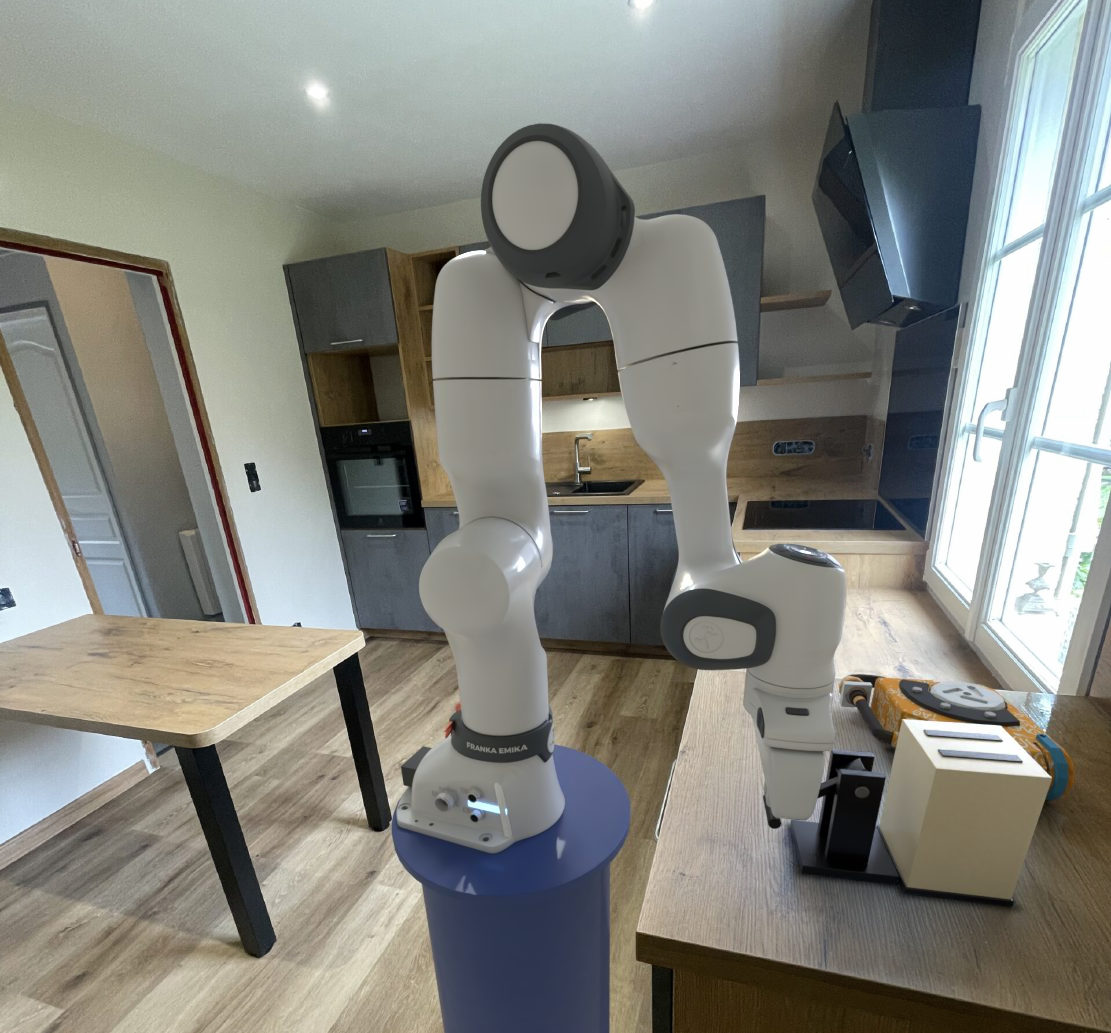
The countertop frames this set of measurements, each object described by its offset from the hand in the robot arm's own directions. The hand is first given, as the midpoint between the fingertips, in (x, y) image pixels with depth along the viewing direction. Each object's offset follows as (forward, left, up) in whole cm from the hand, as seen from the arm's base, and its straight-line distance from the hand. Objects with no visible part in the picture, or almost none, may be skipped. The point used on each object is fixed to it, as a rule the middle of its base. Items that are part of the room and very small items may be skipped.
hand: (772, 800), depth 68 cm
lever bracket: (+8, 0, -7) cm, 11 cm away
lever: (+5, 0, +1) cm, 5 cm away
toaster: (+19, 0, -7) cm, 20 cm away
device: (+27, +27, -7) cm, 39 cm away
